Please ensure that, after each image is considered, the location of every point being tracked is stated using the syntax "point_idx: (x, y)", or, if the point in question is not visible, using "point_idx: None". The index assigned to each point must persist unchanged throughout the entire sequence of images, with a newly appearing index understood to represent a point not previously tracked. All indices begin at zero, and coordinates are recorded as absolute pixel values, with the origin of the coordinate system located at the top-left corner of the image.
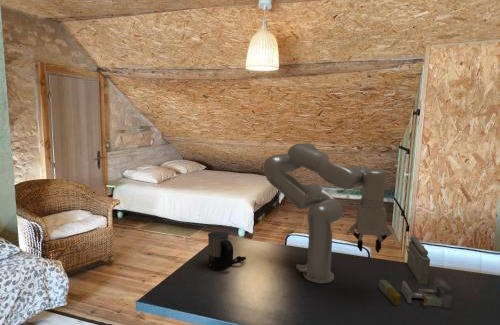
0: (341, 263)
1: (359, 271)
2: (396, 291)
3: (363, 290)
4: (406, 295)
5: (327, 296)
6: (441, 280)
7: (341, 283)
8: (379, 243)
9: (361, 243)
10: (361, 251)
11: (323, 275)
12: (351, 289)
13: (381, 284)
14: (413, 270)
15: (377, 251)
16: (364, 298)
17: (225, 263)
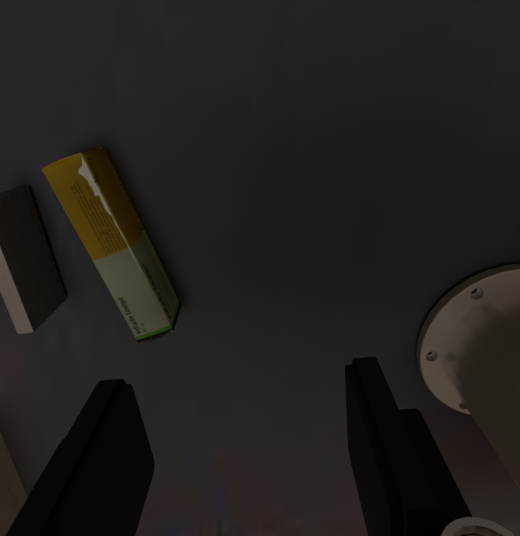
0: (354, 491)
1: (271, 441)
2: (70, 214)
3: (265, 261)
4: (27, 229)
5: (487, 127)
6: None
7: (379, 302)
8: (24, 516)
9: (407, 462)
10: (353, 359)
11: (506, 308)
12: (331, 253)
13: (163, 298)
14: (14, 497)
15: (119, 391)
16: (265, 172)
17: None
